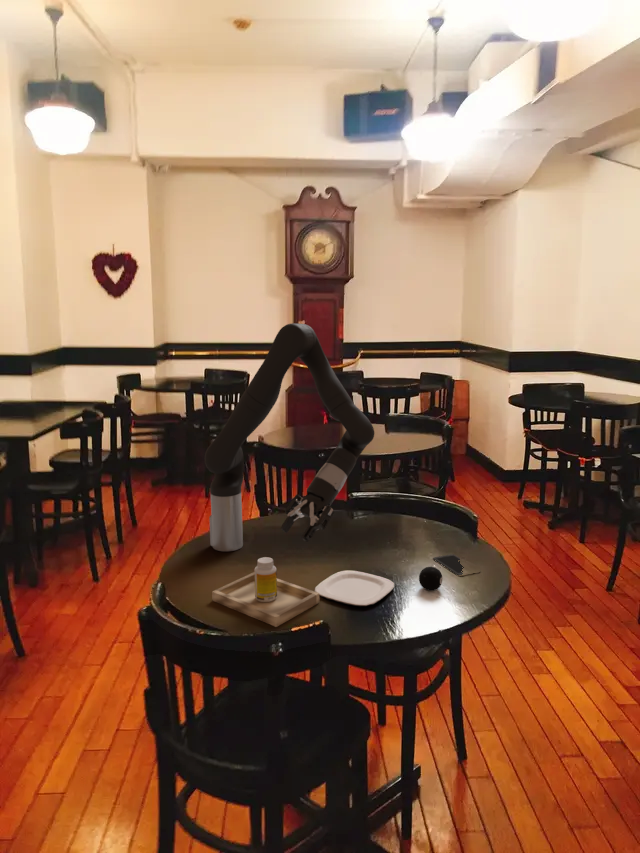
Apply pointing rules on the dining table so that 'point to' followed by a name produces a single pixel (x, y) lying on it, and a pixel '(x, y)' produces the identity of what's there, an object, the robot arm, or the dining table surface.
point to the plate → (355, 588)
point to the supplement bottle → (265, 580)
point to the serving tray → (273, 612)
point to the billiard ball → (430, 578)
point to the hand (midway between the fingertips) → (293, 535)
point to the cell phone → (450, 563)
